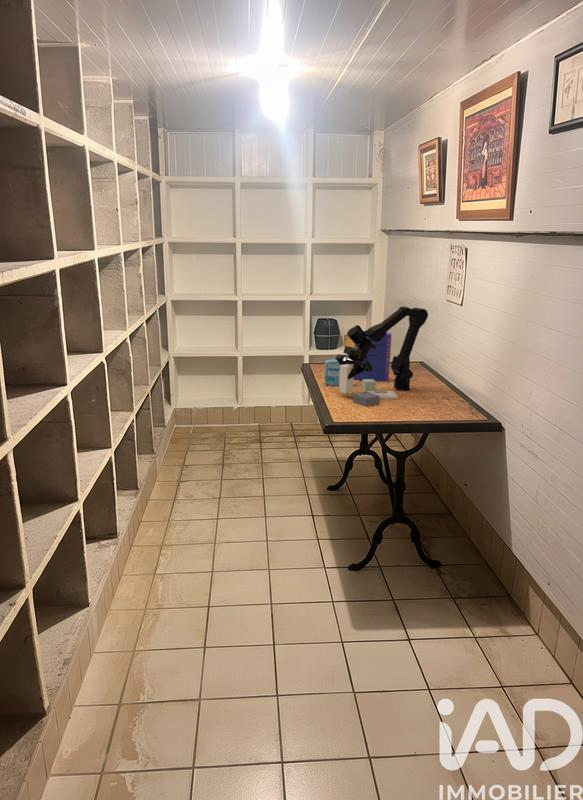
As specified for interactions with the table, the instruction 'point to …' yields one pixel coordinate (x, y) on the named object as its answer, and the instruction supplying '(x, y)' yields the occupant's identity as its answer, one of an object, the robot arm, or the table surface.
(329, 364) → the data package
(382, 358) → the cereal box
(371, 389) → the sage cube
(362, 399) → the charcoal slab
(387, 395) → the tile
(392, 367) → the robot arm
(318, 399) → the table surface
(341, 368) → the cream block
